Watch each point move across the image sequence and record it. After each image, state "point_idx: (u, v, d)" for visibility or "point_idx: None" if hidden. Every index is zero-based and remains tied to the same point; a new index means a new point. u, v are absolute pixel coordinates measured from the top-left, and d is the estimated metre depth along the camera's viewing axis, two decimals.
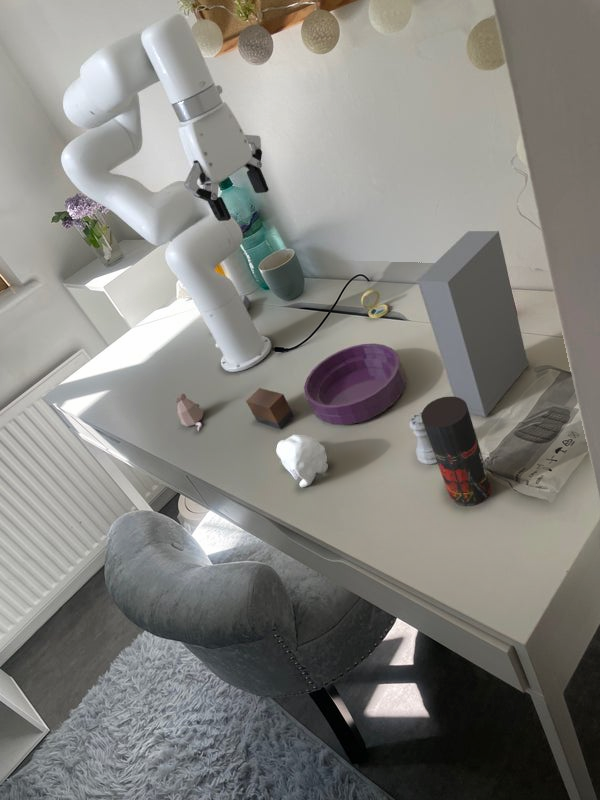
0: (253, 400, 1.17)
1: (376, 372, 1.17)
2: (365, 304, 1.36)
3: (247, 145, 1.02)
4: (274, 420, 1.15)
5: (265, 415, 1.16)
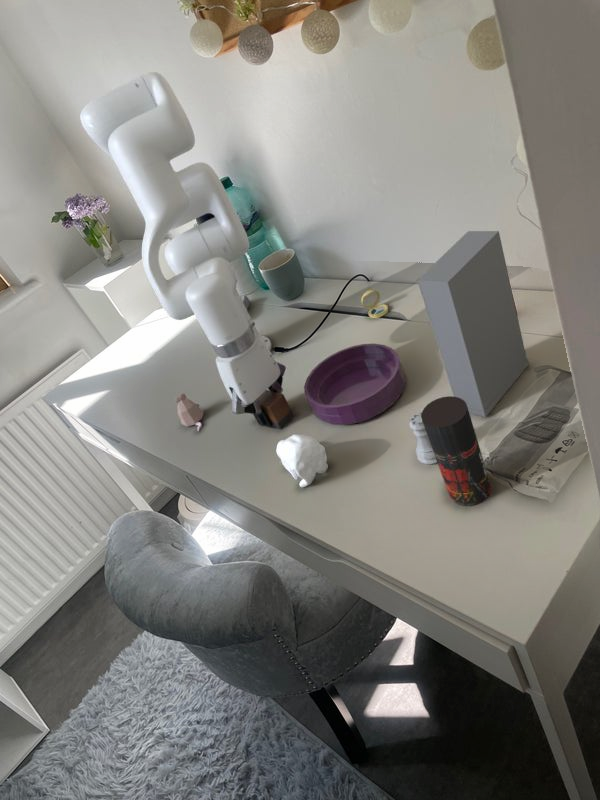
0: None
1: (376, 372, 1.17)
2: (365, 304, 1.36)
3: (276, 366, 1.14)
4: (274, 420, 1.15)
5: None
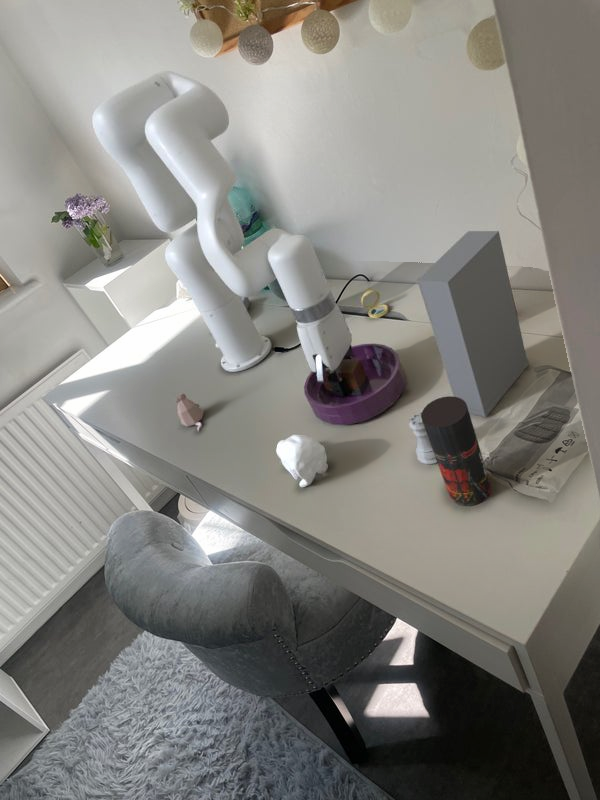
0: None
1: (376, 372, 1.17)
2: (365, 304, 1.36)
3: (349, 331, 1.12)
4: (355, 386, 1.12)
5: None
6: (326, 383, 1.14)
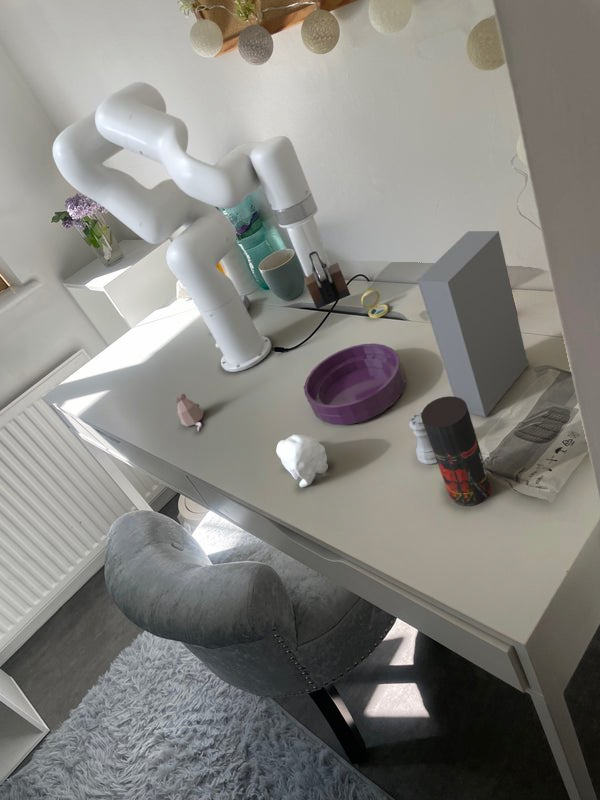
0: (314, 279, 1.16)
1: (376, 372, 1.17)
2: (365, 304, 1.36)
3: None
4: (344, 286, 1.17)
5: None
6: (314, 294, 1.17)
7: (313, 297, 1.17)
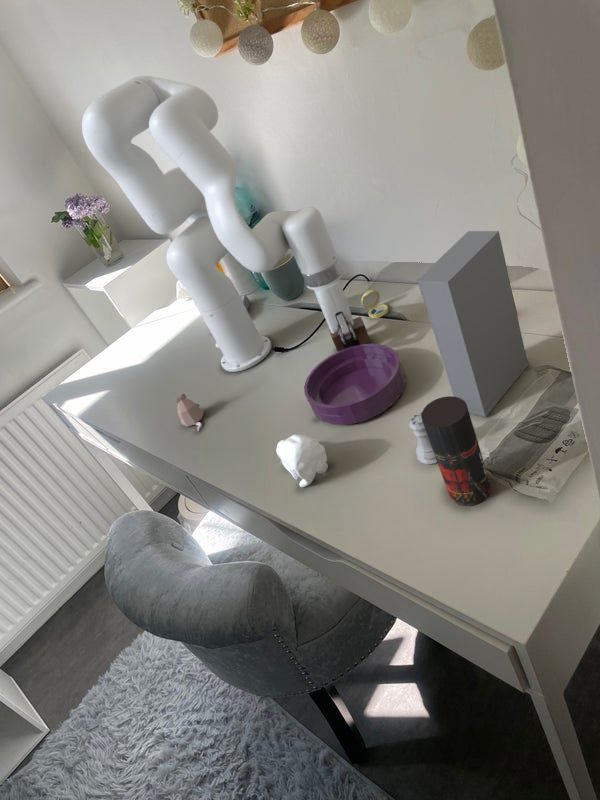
0: None
1: (376, 372, 1.17)
2: (365, 304, 1.36)
3: None
4: (366, 339, 1.25)
5: None
6: (338, 346, 1.25)
7: (338, 349, 1.25)
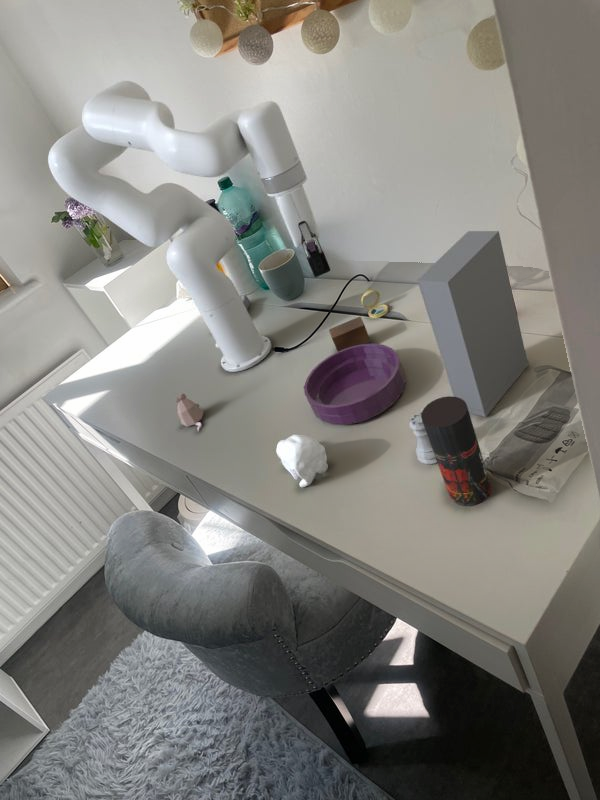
0: (339, 333, 1.24)
1: (376, 372, 1.17)
2: (365, 304, 1.36)
3: None
4: (366, 339, 1.25)
5: (355, 340, 1.24)
6: (338, 346, 1.25)
7: (338, 349, 1.25)
